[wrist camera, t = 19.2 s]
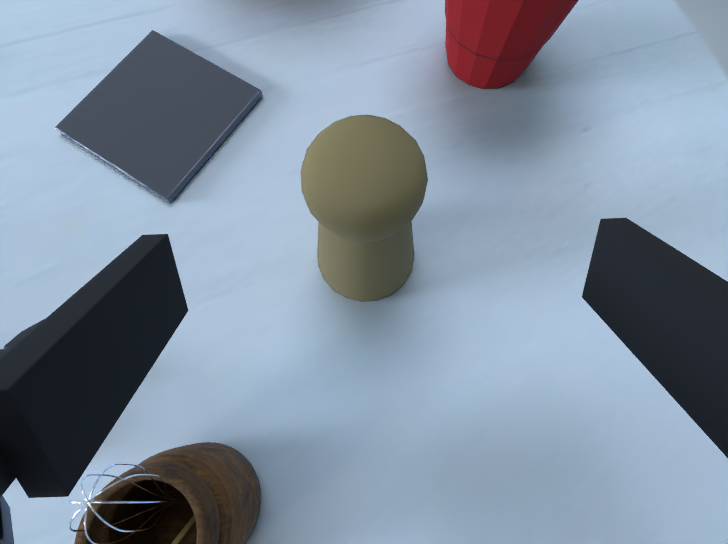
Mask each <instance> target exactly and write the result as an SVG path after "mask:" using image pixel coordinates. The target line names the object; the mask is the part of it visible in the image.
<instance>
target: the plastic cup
mask: <svg viewBox="0 0 728 544" xmlns="http://www.w3.org/2000/svg"><path fill="white" fill-rule="evenodd" d="M577 2H578V0H445V15H446V51H447V58H448V64H449V66H450V68H451V69H452V71H453V72H454V74H455V75H456V77H458V78H459V79H461V80H462V81H464V82H465V83H467V84H468V85H471V86H475V87H479V88H482V89H491V88H501V87H503V86H505V85H508V84H510V83H512V82H513V81H514V80H515V79H516V78H518V77H519V76H520V75H521V73H522V72H523V71H524V70H525V69H526V68H527V67H528V66H529V64H530V63H531V62H532V60H533V59H534V57H535V56H536V55H537V53H538V52H539V50H540V49H541V48H542V46H543V45H544V44H545V43H546V42H547V41H548V40H549V39H550V38H551V36H552V35H553V34H554V32H555V31H556V30H557V28H558V27H559V26H560V24H561V23H562V22H563V20H564V19H565V18H566V16H567V15H568V14H569V12H570V11H571V10H572V8H573V7H574V6H575V4H576V3H577Z"/></svg>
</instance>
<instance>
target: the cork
mask: <svg viewBox="0 0 728 544" xmlns="http://www.w3.org/2000/svg"><path fill="white" fill-rule="evenodd" d="M427 181H428V178H427V171H426V164H425V159H424V155H423V153H422V151H421V149H420V148H419V146H418V144H417V142H416V140H415V139H414V138H413V137H412V136H411V135H409V134H408V133H407V132H406V131H405V130H404V129H403V128H402V127H401V126H399V125H398V124H396V123H394V122H392V121H390V120H388V119H386V118H382V117H377V116H372V115H358V116H350V117H347V118H344V119H341V120H338V121H336V122H334V123H333V124H331V125H330V126H328V127H327V128H326V129H324V130H323V131H322V132H320V133H319V134H318V135H317V136H316V138H315V139H314V140H313V142H312V143H311V145H310V146H309V147H308V149H307V151H306V154H305V158H304V161H303V164H302V169H301V187H302V193H303V195H304V198H305V200H306V203H307V205H308V208H309V210H310V212H311V214H312V215H313V216H314V217H315V218H316V219H317V220H318V222H319V224H318V266H319V268H320V271H321V273H322V276H323V278H324V280H325V281H326V282H327V283H328V284H329V285H330V287H331V288H332V289H333V290H334V291H336V292H338V293H339V294H341V295H343V296H344V297H346V298H349V299H353V300H358V301H373V300H379V299H382V298H384V297H386V296H389V295H391V294H393V293H394V292H395V291H396V290H398V289H399V288H400V287H401V286H402V285H403V284H404V283H405V281H406V279H407V278H408V276H409V274H410V273H411V270H412V266H413V261H414V248H413V236H412V223H411V220H412V219H413V218H414V216H415V215H416V213H417V211H418V210H419V208H420V207H421V205H422V203H423V199H424V195H425V191H426V186H427Z"/></svg>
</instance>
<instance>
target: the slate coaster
mask: <svg viewBox="0 0 728 544" xmlns="http://www.w3.org/2000/svg"><path fill="white" fill-rule="evenodd" d="M262 96H263V95H262V92H261V90H259V89H258V88H256V87H254V86H252V85H250V84H249V83H247V82H245V81H243V80H241V79H240V78H238V77H236V76H234V75H232V74H231V73H229V72H227V71H225V70H223V69H222V68H220V67H218V66H216V65H214V64H213V63H211V62H209V61H207V60H206V59H204V58H202V57H200V56H198V55H197V54H195V53H193V52H191V51H189V50H188V49H186V48H184V47H182V46H180V45H179V44H177V43H175V42H173V41H171V40H170V39H168V38H166V37H164V36H162V35H161V34H159V33H157V32H155V31H153V30H152V31H151V32H150V33H149V34H148V35H147V36H146V37H145V38H144V39H143V40H142V41H141V42H140V43H139V44H138V45H137V46H136V47H135V48H134V49H133V50H132V51H131V52H130V53H129V54H128V55H127V56H126V57H125V58H124V59H123V60H122V61H121V62H120V63H119V64H118V65H117V66H116V67H115V68H114V69H113V70H112V71H111V72H110V73H109V74H108V75H107V76H106V77H105V78H104V79H103V80H102V81H101V82H100V83H99V84H98V85H97V86H96V87H95V88H94V89H93V90H92V91H91V92H90V93H89V94H88V95H87V96H86V97H85V98H84V99H83V100H82V101H81V102H80V103H79V104H78V105H77V106H76V107H75V108H74V109H73V110H72V111H71V112H70V113H69V114H68V115H67V116H66V117H65V118H64V119H63V120H62V121H61V122H60V123H59V124H58V125H57V126H56V127H55V128H56V129H57V130H58V131H59V132H60V133H62V134H63V135H65V136H66V137H68V138H69V139H71V140H73V141H74V142H76V143H77V144H79V145H80V146H82V147H83V148H85V149H87V150H88V151H90V152H91V153H93V154H94V155H96V156H97V157H99V158H101V159H102V160H104V161H105V162H107V163H108V164H110V165H111V166H113V167H115V168H116V169H118V170H119V171H121V172H122V173H124V174H125V175H127V176H129V177H130V178H132V179H133V180H135V181H136V182H138V183H139V184H141V185H143V186H144V187H146V188H147V189H149V190H150V191H152V192H153V193H155V194H157V195H158V196H160V197H161V198H163V199H164V200H166V201H167V202H169V203H171V202H172V201H173V200H174V199H175V197H176V196H177V195H178V194H179V193H180V192H181V190H182V189H183V188H184V187H185V186H186V185H187V183H188V182H189V181H190V180H191V179H192V178H193V176H194V175H195V174H196V173H197V172H198V171H199V169H200V168H201V167H202V166H203V165H204V164H205V162H206V161H207V160H208V159H209V158H210V157H211V155H212V154H213V153H214V152H215V151H216V150H217V148H218V147H219V146H220V145H221V144H222V143H223V141H224V140H225V139H226V138H227V137H228V136H229V134H230V133H231V132H232V131H233V130H234V129H235V128H236V126H237V125H238V124H239V123H240V122H241V121H242V119H243V118H244V117H245V116H246V115H247V114H248V112H249V111H250V110H251V109H252V108H253V107H254V105H255V104H256V103H257V102H258V101H259V100H260V98H261V97H262Z"/></svg>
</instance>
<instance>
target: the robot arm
mask: <svg viewBox="0 0 728 544" xmlns="http://www.w3.org/2000/svg"><path fill="white" fill-rule="evenodd" d="M582 298H583V299H584V300H585V301H586V302H587V303H588V304H589V305H590V306H591V308H592V309H593V310H594V311H595V312H596V313H597V314H598V315H599V316H600V317H601V319H602V320H603V321H604V322H605V323H606V324H607V325H608V326H609V327H610V329H611V330H612V331H613V332H614V333H615V334H616V335H617V336H618V337H619V338H620V340H621V341H622V342H623V343H624V344H625V345H626V346H627V347H628V348H629V350H630V351H631V352H632V353H633V354H634V355H635V356H636V357H637V358H638V359H639V361H640V362H641V363H642V364H643V365H644V366H645V367H646V368H647V369H648V371H649V372H650V373H651V374H652V375H653V376H654V377H655V378H656V379H657V380H658V382H659V383H660V384H661V385H662V386H663V387H664V388H665V389H666V390H667V392H668V393H669V394H670V395H671V396H672V397H673V398H674V399H675V400H676V401H677V403H678V404H679V405H680V406H681V407H682V408H683V409H684V410H685V411H686V412H687V414H688V415H689V416H690V417H691V418H692V419H693V420H694V421H695V422H696V424H697V425H698V426H699V427H700V428H701V429H702V430H703V431H704V432H705V433H706V435H707V436H708V437H709V438H710V439H711V440H712V441H713V442H714V443H715V445H716V446H717V447H718V448H719V449H720V450H721V451H722V452H723V453H724V454H725V456H726V457H727V458H728V282H727V281H726V280H724V279H722V278H721V277H719V276H718V275H716V274H714V273H713V272H711V271H710V270H708V269H707V268H705V267H703V266H702V265H700V264H699V263H697V262H695V261H694V260H692V259H691V258H689V257H687V256H686V255H684V254H683V253H681V252H679V251H678V250H676V249H675V248H673V247H672V246H670V245H668V244H667V243H665V242H664V241H662V240H660V239H659V238H657V237H656V236H654V235H652V234H651V233H649V232H648V231H646V230H644V229H643V228H641V227H640V226H638V225H637V224H635V223H633V222H632V221H630V220H629V219H627V218H612V219H601V220H600V224H599V229H598V233H597V237H596V241H595V245H594V249H593V253H592V257H591V262H590V266H589V270H588V274H587V278H586V282H585V286H584V291H583V295H582ZM187 312H188V308H187V304H186V300H185V297H184V293H183V289H182V285H181V282H180V278H179V274H178V270H177V267H176V263H175V259H174V256H173V252H172V248H171V244H170V241H169V237H168V234H157V235H142V236H141V237H140V238H139V239H137V240H136V241H135V242H134V243H133V244H132V245H130V246H129V247H128V248H127V249H126V250H125V251H124V252H122V253H121V254H120V255H119V256H118V257H117V258H115V259H114V260H113V261H112V262H111V263H110V264H108V265H107V266H106V267H105V268H104V269H103V270H102V271H100V272H99V273H98V274H97V275H96V276H95V277H93V278H92V279H91V280H90V281H89V282H88V283H87V284H85V285H84V286H83V287H82V288H81V289H80V290H78V291H77V292H76V293H75V294H74V295H73V296H71V297H70V298H69V299H68V300H67V301H66V302H65V303H63V304H62V305H61V306H60V307H59V308H58V309H56V310H55V311H54V312H53V313H52V314H51V315H50V316H48V317H47V318H46V319H44V320H42V321H40V322H38V323H37V324H35V325H33V326H31V327H29V328H27V329H26V330H24V331H22V332H21V333H19V334H18V335H17V336H16V337H15V338H13V339H12V340H11V341H10V342H9V343H8V344H6V345H5V346H4V349H0V544H14V538H13V530H12V522H11V514H10V507H9V506H8V504H7V502H6V500H5V499H4V497H3V496H2V495H3V493H4V492H5V491H6V490H7V488H8V487H9V486H10V485H11V483H12V482H13V481H14V480H15V478H17V480H18V481H19V483H20V484H21V486H22V488H23V489H24V491H25V492H26V494H27V496H28V497H29V498H35V497H65V496H69V494H70V493H71V491H72V489H73V488H74V486H75V485H76V483H77V482H78V480H79V479H80V477H81V476H82V474H83V472H84V471H85V469H86V468H87V466H88V465H89V463H90V462H91V460H92V459H93V457H94V455H95V454H96V452H97V451H98V449H99V448H100V446H101V445H102V443H103V442H104V440H105V438H106V437H107V435H108V434H109V432H110V431H111V429H112V428H113V426H114V425H115V423H116V421H117V420H118V418H119V417H120V415H121V414H122V412H123V411H124V409H125V408H126V406H127V404H128V403H129V401H130V400H131V398H132V397H133V395H134V394H135V392H136V391H137V389H138V387H139V386H140V384H141V383H142V381H143V380H144V378H145V377H146V375H147V374H148V372H149V370H150V369H151V367H152V366H153V364H154V363H155V361H156V360H157V358H158V357H159V355H160V353H161V352H162V350H163V349H164V347H165V346H166V344H167V343H168V341H169V340H170V338H171V337H172V335H173V333H174V332H175V330H176V329H177V327H178V326H179V324H180V323H181V321H182V320H183V318H184V316H185V315H186V313H187Z"/></svg>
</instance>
